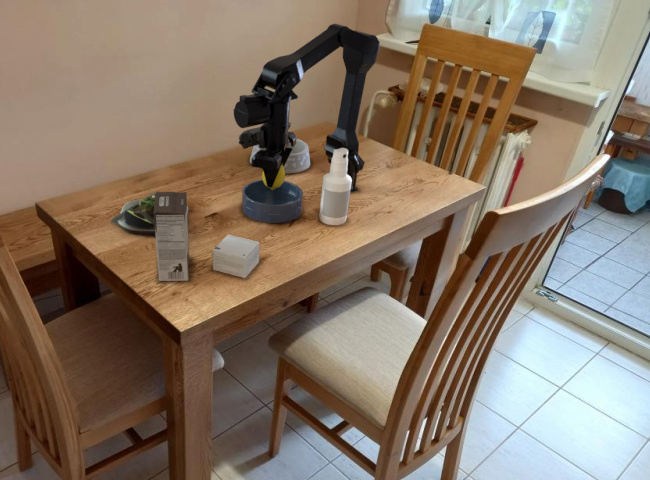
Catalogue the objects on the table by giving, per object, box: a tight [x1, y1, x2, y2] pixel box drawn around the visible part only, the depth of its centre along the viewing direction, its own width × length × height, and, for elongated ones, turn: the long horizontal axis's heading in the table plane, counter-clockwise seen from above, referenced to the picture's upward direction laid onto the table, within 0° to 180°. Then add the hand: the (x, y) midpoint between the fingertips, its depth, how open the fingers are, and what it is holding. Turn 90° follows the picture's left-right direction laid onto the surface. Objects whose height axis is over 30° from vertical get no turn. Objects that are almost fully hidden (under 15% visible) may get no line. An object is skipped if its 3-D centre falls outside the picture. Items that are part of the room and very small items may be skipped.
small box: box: [212, 234, 261, 279], centre depth 124 cm, size 8×8×5 cm
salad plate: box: [109, 192, 189, 237], centre depth 141 cm, size 19×18×5 cm
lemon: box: [261, 165, 286, 190], centre depth 142 cm, size 6×6×8 cm
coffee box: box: [154, 191, 190, 282], centre depth 119 cm, size 9×6×16 cm
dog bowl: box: [249, 138, 311, 175], centre depth 172 cm, size 17×18×5 cm
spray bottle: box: [318, 148, 352, 226], centre depth 139 cm, size 7×7×18 cm
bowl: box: [241, 179, 304, 224], centre depth 146 cm, size 15×15×5 cm
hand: (273, 182), depth 143 cm, fingers closed on lemon, 5 cm apart
